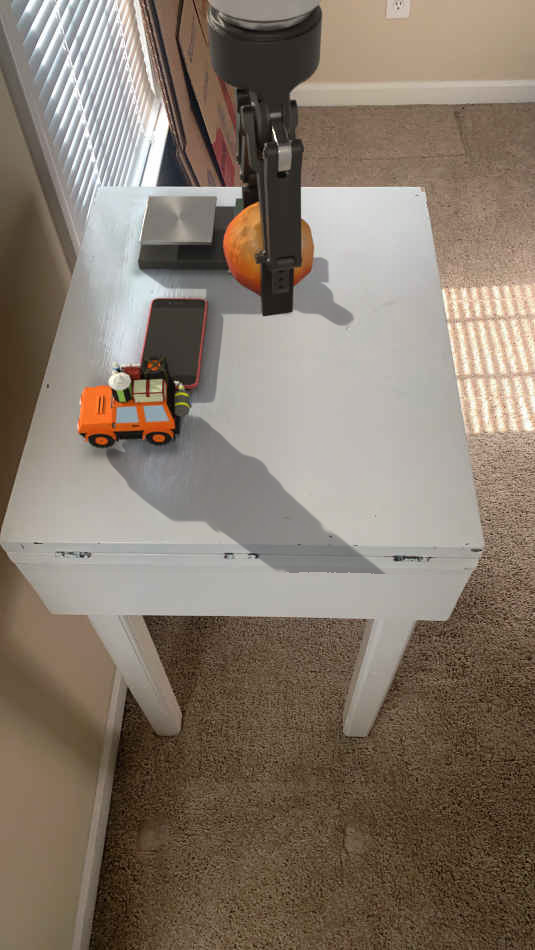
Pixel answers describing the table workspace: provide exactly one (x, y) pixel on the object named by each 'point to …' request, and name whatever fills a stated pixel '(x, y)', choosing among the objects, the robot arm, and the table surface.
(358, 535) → the table surface
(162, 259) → the scale
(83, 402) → the toy car
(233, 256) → the fruit
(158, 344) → the smartphone
